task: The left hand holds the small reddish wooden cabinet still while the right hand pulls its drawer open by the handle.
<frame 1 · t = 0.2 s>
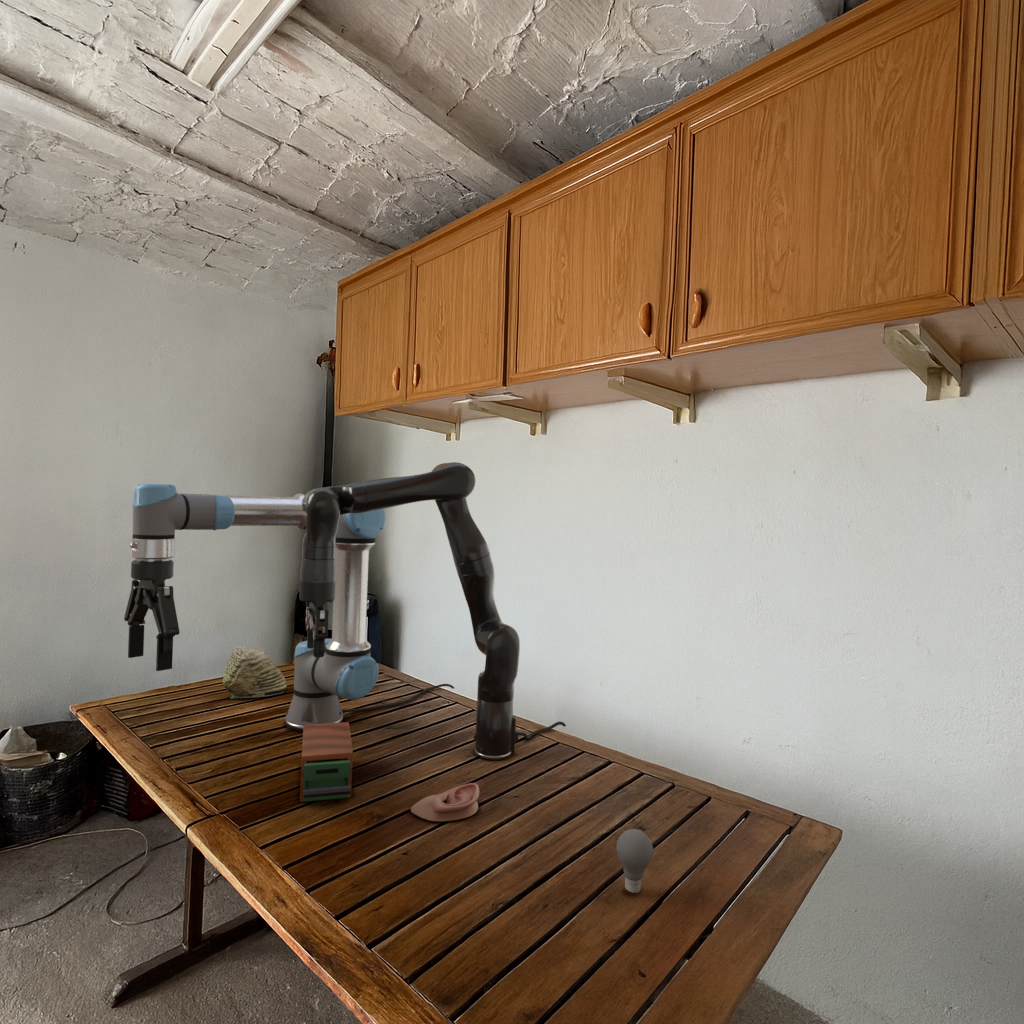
left hand: (149, 663, 129), 28 cm above the table, tool pointing down, fingers open, 13 cm apart
right hand: (315, 652, 139), 29 cm above the table, tool pointing down, fingers open, 8 cm apart
cabinet: (325, 780, 142), on the table
fossil: (254, 694, 198), on the table
anatomical model: (445, 809, 131), on the table
light bulb: (632, 891, 106), on the table
drawer: (326, 770, 136), point 5 cm above the table, slide at 1.1 cm
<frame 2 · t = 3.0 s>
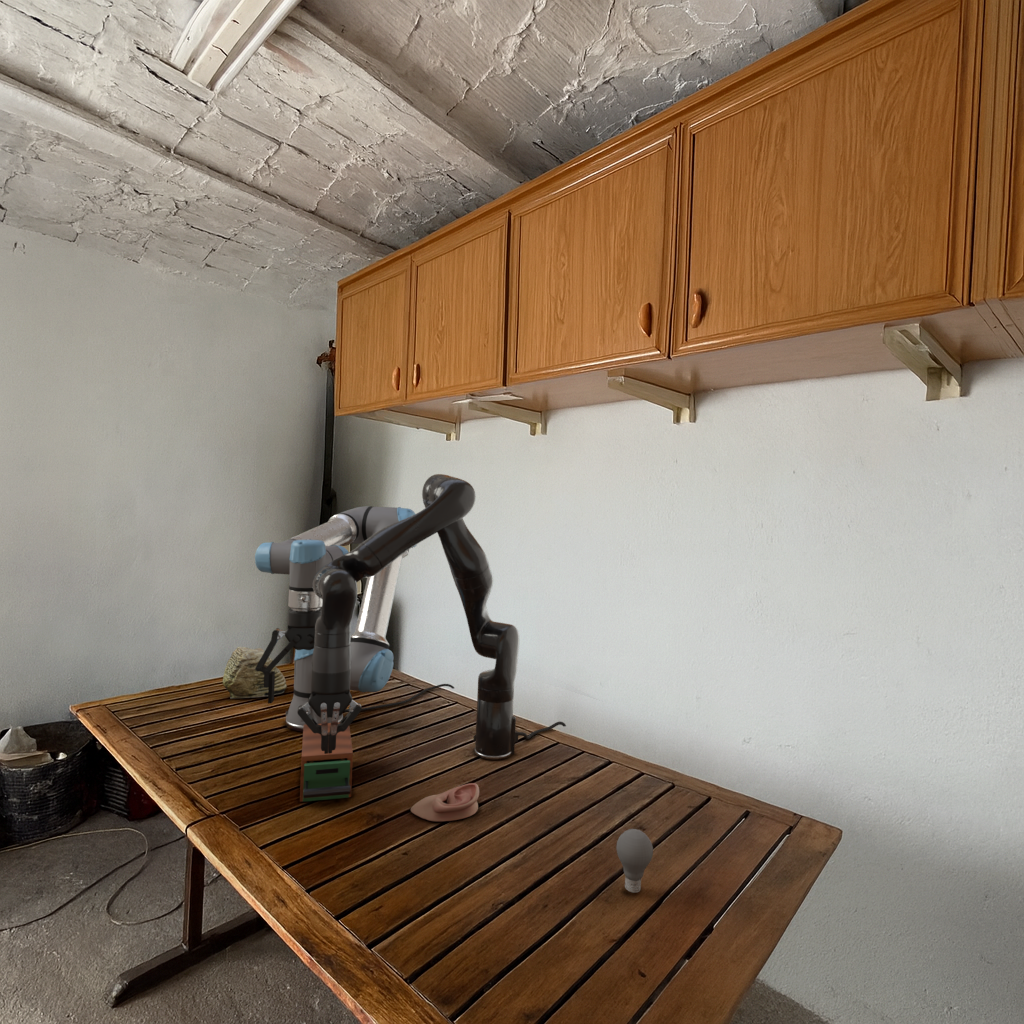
left hand: (302, 701, 144), 17 cm above the table, tool pointing down, fingers open, 13 cm apart
right hand: (328, 752, 128), 12 cm above the table, tool pointing down, fingers closed
nothing on the table moved.
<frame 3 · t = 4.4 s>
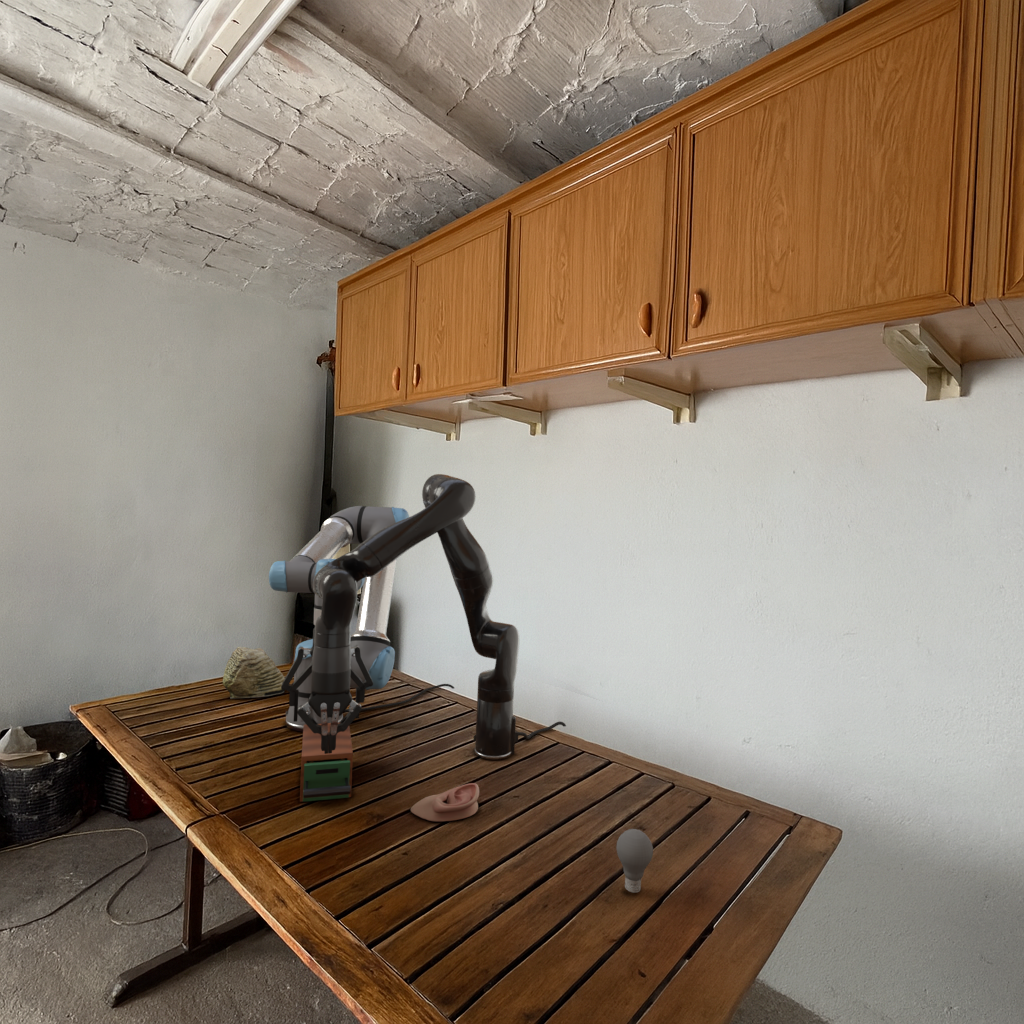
left hand: (326, 718, 146), 12 cm above the table, tool pointing down, fingers open, 13 cm apart
right hand: (328, 752, 128), 12 cm above the table, tool pointing down, fingers closed
nothing on the table moved.
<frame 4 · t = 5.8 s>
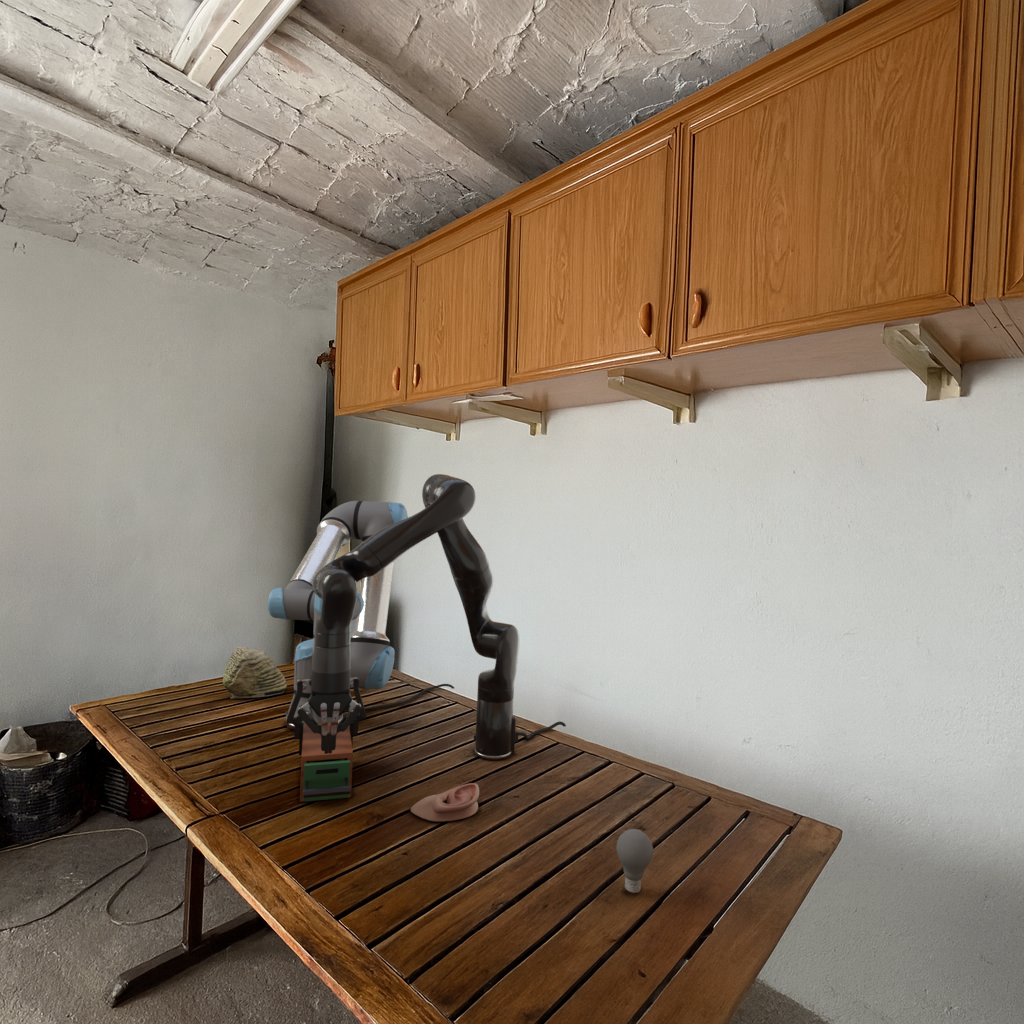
left hand: (325, 750, 146), 5 cm above the table, tool pointing down, fingers closed on cabinet, 10 cm apart
right hand: (328, 752, 128), 12 cm above the table, tool pointing down, fingers closed
cabinet: (325, 780, 142), on the table, touching left hand
everything else where it was.
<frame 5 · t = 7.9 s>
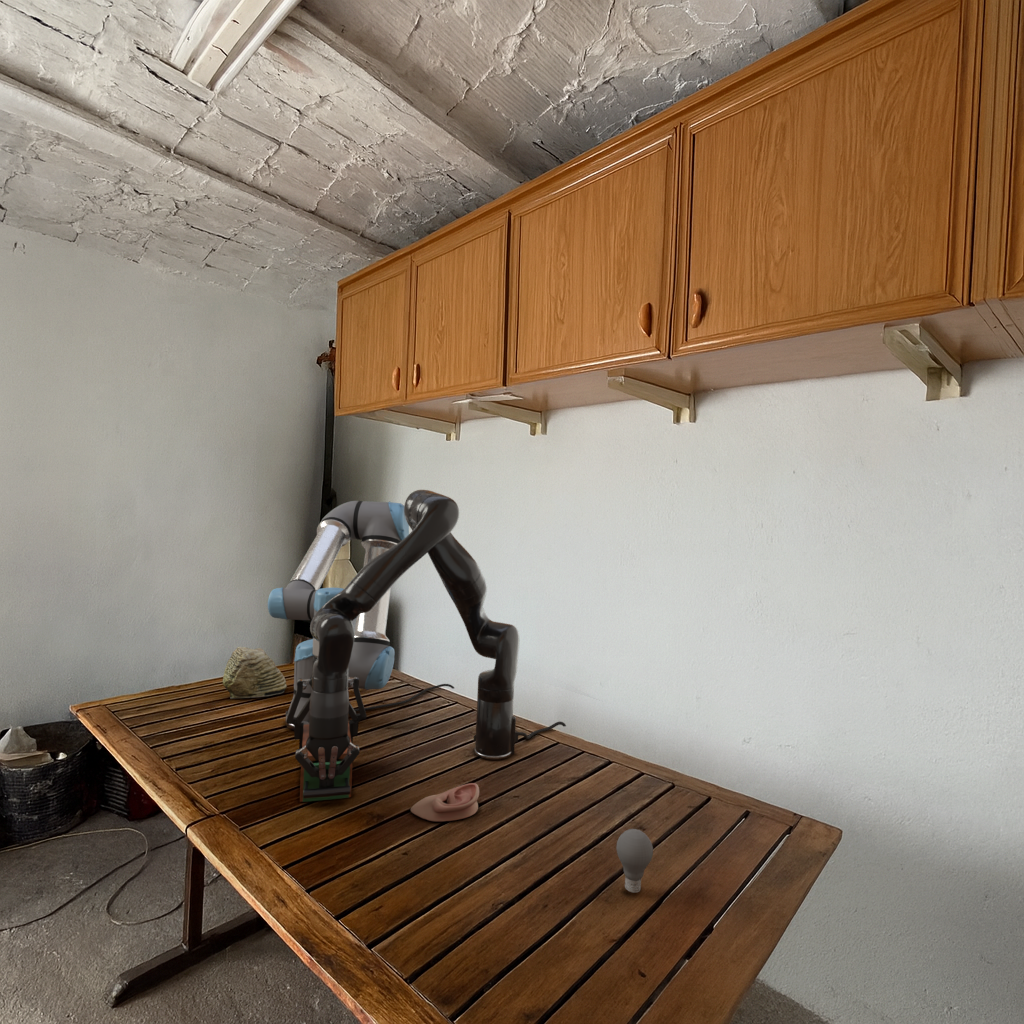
left hand: (325, 751, 146), 5 cm above the table, tool pointing down, fingers closed on cabinet, 10 cm apart
right hand: (326, 795, 127), 4 cm above the table, tool pointing down, fingers closed
cabinet: (325, 780, 142), on the table, touching left hand
drawer: (326, 770, 136), point 5 cm above the table, slide at 1.2 cm, touching right hand
everything else where it was.
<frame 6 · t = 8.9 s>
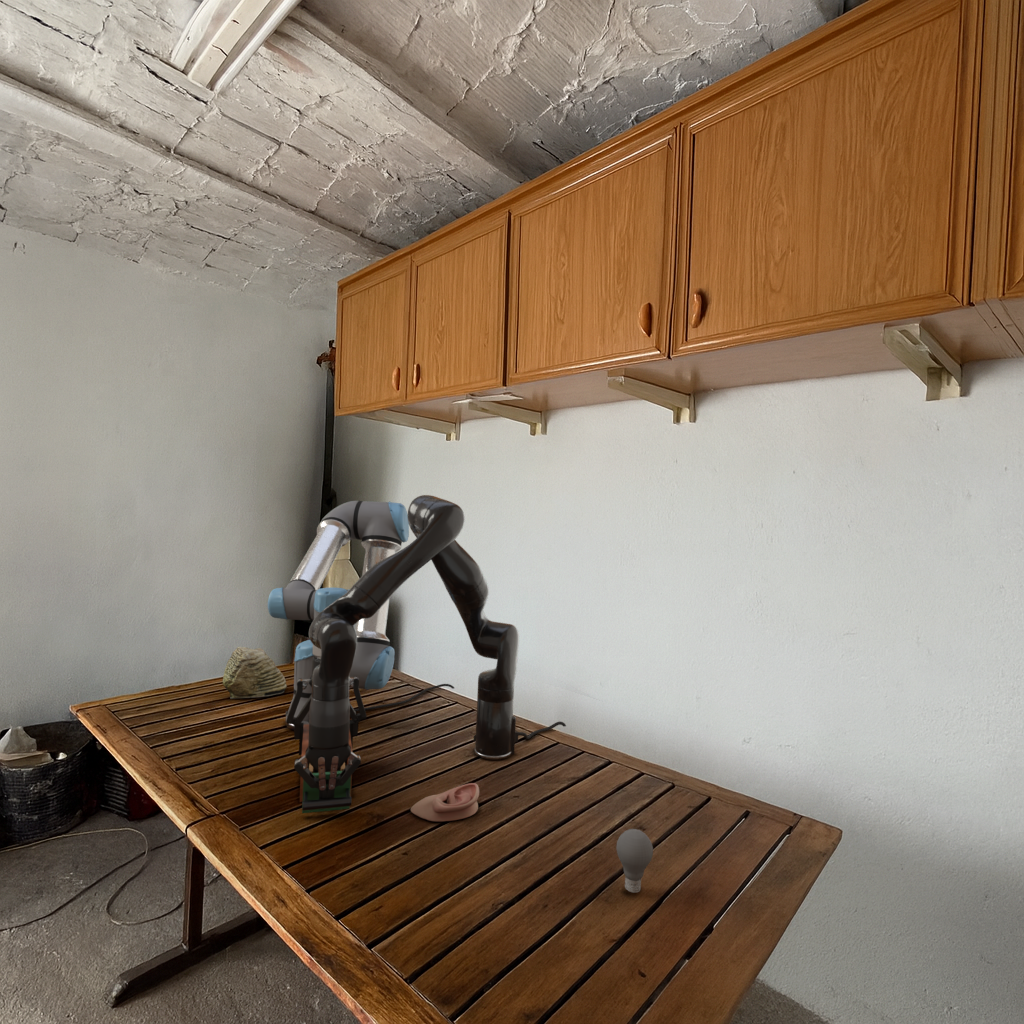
left hand: (325, 751, 146), 5 cm above the table, tool pointing down, fingers closed on cabinet, 10 cm apart
right hand: (326, 806, 123), 3 cm above the table, tool pointing down, fingers closed
cabinet: (325, 780, 142), on the table, touching left hand
drawer: (326, 780, 131), point 5 cm above the table, slide at 5.9 cm, touching right hand
everything else where it was.
when the left hand's fingers open (5 cm above the table, at t = 10.6 s): cabinet stays where it is, on the table.
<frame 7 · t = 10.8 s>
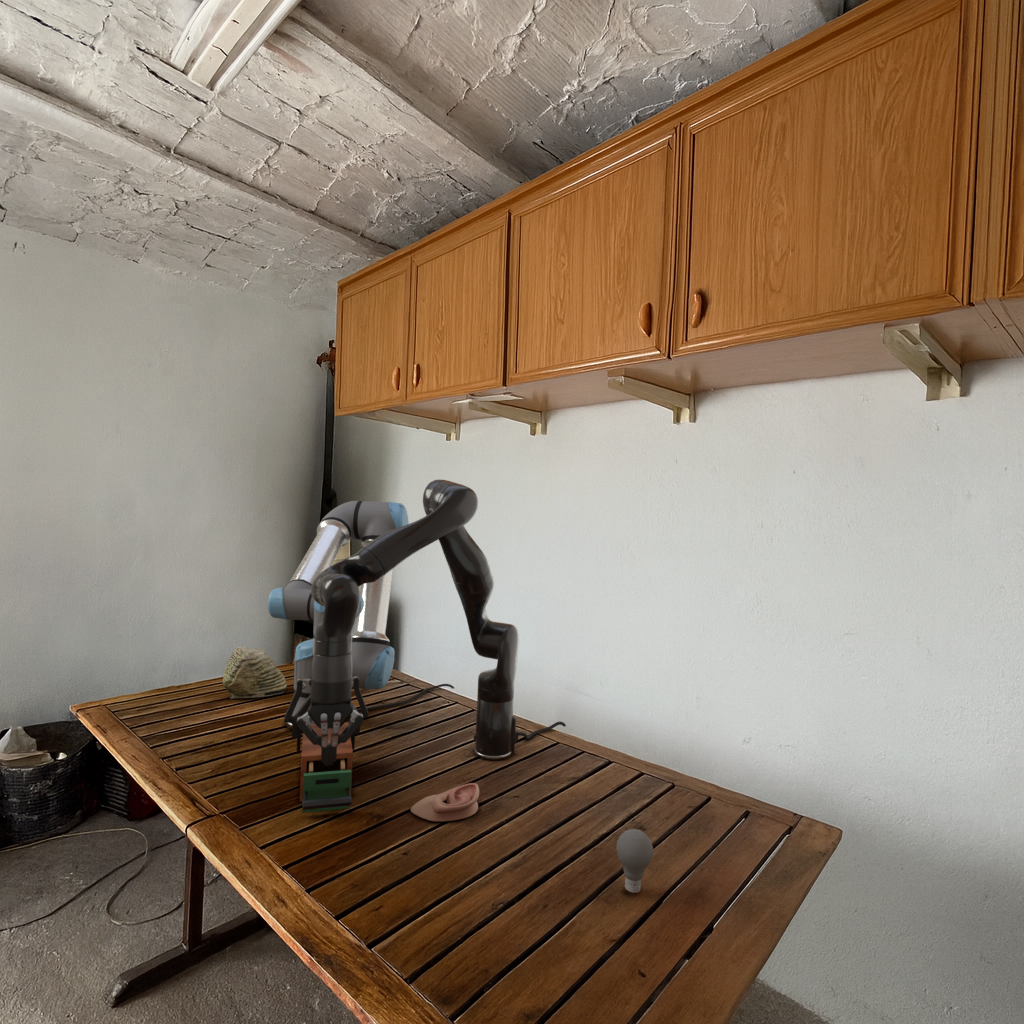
left hand: (325, 749, 147), 5 cm above the table, tool pointing down, fingers open, 11 cm apart
right hand: (328, 764, 122), 12 cm above the table, tool pointing down, fingers closed
cabinet: (325, 780, 142), on the table
drawer: (326, 779, 131), point 5 cm above the table, slide at 5.9 cm
everything else where it was.
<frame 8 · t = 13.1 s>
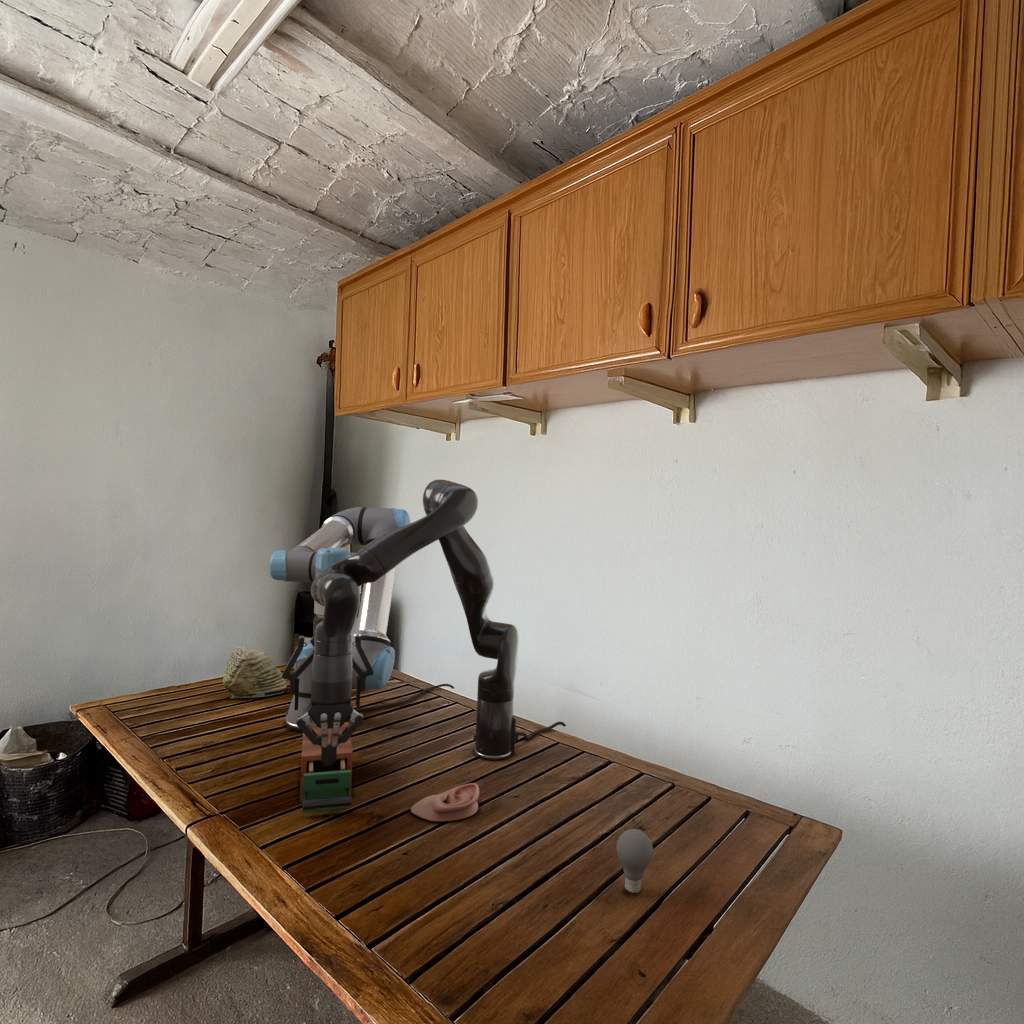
left hand: (327, 706, 146), 15 cm above the table, tool pointing down, fingers open, 13 cm apart
right hand: (328, 764, 122), 12 cm above the table, tool pointing down, fingers closed
nothing on the table moved.
at the end: drawer slide at 5.9 cm; cabinet tilted 0°; cabinet never tilted more than 1° during the clip; cabinet moved 0.0 cm from its start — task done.
